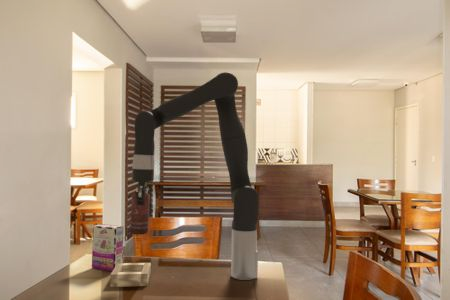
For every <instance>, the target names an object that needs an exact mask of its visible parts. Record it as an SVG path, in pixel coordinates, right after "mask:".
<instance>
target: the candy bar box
mask: <svg viewBox="0 0 450 300" xmlns="http://www.w3.org/2000/svg"><path fill="white" fill-rule="evenodd" d="M124 227H125V226H123V225H115V224H103V223H99V224H96V225H93V226H92V249H91V250H92V253H91V254H92V256H91V269H95V270H100V271H106V272H110V273H112V271H113V270H114V268H115V267H116V265H117V263H124V262H123V258H124V257H123V256H124V255H123V253H124Z"/></svg>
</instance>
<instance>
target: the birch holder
mask: <svg viewBox="0 0 450 300" xmlns="http://www.w3.org/2000/svg"><path fill="white" fill-rule="evenodd" d="M151 263H152V262H126V263H125V262H123V263H117V265H116V267H115V268H114V270H113V271H112V272H110V281H109V287H110V288H113V287H114V288H115V287H117V288H118V287H121V288H122V287H148V285H149V280H150V278H151V274H152V273H151V272H152V271H151V270H152V267H151V266H152V264H151Z"/></svg>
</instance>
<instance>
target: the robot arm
mask: <svg viewBox="0 0 450 300" xmlns="http://www.w3.org/2000/svg"><path fill="white" fill-rule="evenodd" d="M238 87H239V81H238V78H237V76H235V75H234V74H233V73H232V72H229V71H228V72H227V71H223V72H220V73H218V74H217V75H216V76H214V77H213V78H212V79H210V80H208V81H207V82H205V83H203V84H202V85H200V86H197V87H196V88H194V89H192V90H190V91H188V92H185V93H183V94H179V95H178V96H175V97H174V98H171V99H169V100H167V101H165V102H163V103H161V104H159V106H157V107H156V108H153V109H150V110H142V111H139V112H138V113H137V114H136V116H135V118H134V146H133V147H134V149H133V159H132V167H131V170H132V173H131V181H132V182H137V184H138V185H137V186H135V193H136V197H137V205H143V206H144V205H145V203H144V194H147V193H149V186H148V184H147V183H151V182H154V180H155V144H156V143H155V130H156V129H158V128H160V127H162V126H163V125H165V124H167V123H169V122H172V121H174V120H177V119H178V118H181V117H183V116H186V115H187V114H189V113H191V112H193V111H194V110H196V109H197V108H199V107H201V106H203V105H205V104H207V103H209V102H212V101H214V104H215V107H216V110H217V111H216V112H217V117H218V124H219V125H218V128H219V133H220V134H219V135H220V141H221V145H222V150H223V156H224V160H225V163H226V164H225V165H226V167H227V170H228V175H229V184H230V195H231V196H230V197H231V201H232V204H233V219H232V221H231V259H230V260H231V263H230V265H231V267H230V268H231V269H230V276H231V278H233V279H236V280H240V281H250V280H254V279H258V273H259V272H258V271H259V270H258V267H259V264H258V263H259V259H258V258H259V256H258V255H259V252H258V250H257V243H258V242H257V241H258V239H257V235H258V223H259V217H260V216H259V215H260V213H259V212H260V196H259V193H258V191H257V190H256V189H255V188H254V187H252V186H253V185H252V182H251V179H250V177H249V170H248V166H249V165H248V162H249V161H248V160H249V149H248V148H249V147H248V142H247V138H246V136H247V135H246V132H245V128H244V126H243V123H242V122H241V121H242V120H241V119H240V117H239V114H238V111H237V110H238V109H237V105H236V96H235V94H236V92H237V90H238ZM138 201H143V202H139V203H138Z"/></svg>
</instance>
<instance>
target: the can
mask: <svg viewBox="0 0 450 300" xmlns="http://www.w3.org/2000/svg"><path fill="white" fill-rule="evenodd" d="M150 201H151V196H150V192H148V193H147V194H144V203H145V205H144V206H143V205H137V197H136V192H133V193H132V195H131V206H130V208H131V209H130V226H129V227H130V228H129V232H130V233H131V234H132V235H137V236H139V235H147V233H149V221H150V220H149V218H150V203H151V202H150ZM139 202H143V201H138V203H139Z"/></svg>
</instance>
